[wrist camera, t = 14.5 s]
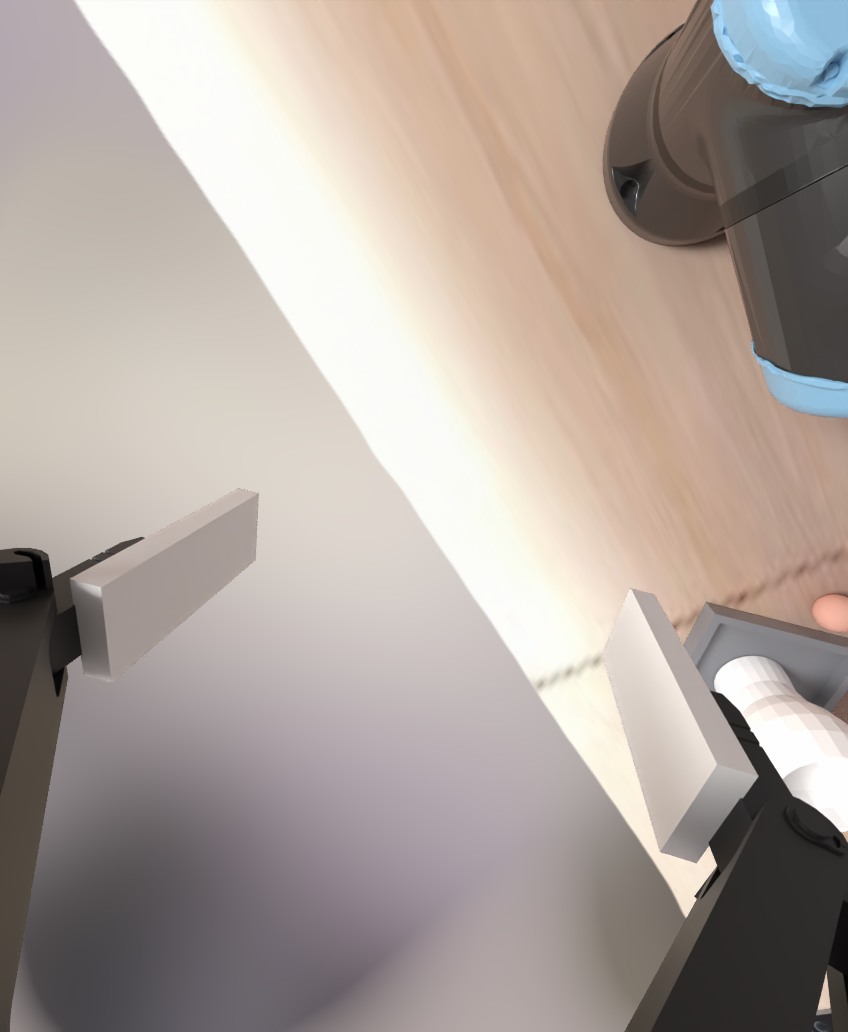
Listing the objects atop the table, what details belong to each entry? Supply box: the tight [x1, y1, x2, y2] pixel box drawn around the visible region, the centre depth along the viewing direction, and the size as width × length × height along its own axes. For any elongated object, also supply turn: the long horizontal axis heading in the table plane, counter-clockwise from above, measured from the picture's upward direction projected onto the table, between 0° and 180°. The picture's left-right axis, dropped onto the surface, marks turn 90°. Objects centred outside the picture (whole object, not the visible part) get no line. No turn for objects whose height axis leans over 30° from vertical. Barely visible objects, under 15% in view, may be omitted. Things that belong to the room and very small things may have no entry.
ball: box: [812, 594, 848, 632], centre depth 48 cm, size 4×4×4 cm
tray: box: [684, 602, 848, 713], centre depth 54 cm, size 17×17×2 cm
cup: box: [714, 656, 848, 832], centre depth 47 cm, size 11×11×15 cm
